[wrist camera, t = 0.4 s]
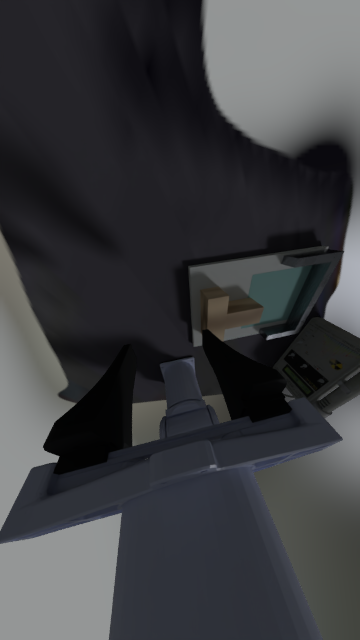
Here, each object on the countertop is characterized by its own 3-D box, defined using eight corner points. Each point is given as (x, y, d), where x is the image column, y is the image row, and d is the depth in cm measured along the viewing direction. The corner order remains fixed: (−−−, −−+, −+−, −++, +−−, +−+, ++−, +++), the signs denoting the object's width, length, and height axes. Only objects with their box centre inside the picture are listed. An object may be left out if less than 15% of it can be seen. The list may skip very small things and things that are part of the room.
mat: (285, 324, 31) (289, 327, 30) (192, 343, 29) (194, 346, 28) (322, 245, 21) (329, 246, 20) (188, 266, 19) (189, 267, 19)
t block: (244, 324, 27) (255, 336, 24) (200, 332, 26) (206, 345, 23) (254, 280, 21) (269, 288, 19) (200, 289, 21) (208, 299, 18)
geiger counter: (400, 368, 19) (297, 431, 33) (426, 365, 21) (316, 427, 35) (309, 316, 31) (260, 379, 44) (329, 316, 32) (276, 377, 46)
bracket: (288, 326, 30) (298, 333, 28) (258, 332, 29) (266, 340, 27) (326, 248, 21) (344, 251, 19) (283, 255, 20) (298, 258, 18)
